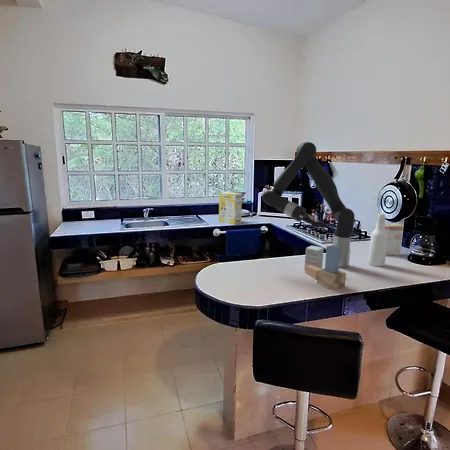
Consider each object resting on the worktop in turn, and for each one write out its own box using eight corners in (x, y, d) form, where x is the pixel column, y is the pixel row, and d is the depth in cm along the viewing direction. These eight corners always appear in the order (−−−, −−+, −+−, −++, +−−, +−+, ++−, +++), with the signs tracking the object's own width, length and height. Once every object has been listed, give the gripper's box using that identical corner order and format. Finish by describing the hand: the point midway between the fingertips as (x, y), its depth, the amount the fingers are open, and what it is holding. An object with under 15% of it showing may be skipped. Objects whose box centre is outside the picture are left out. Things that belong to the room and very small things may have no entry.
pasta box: (241, 223, 312) (242, 193, 306) (234, 224, 303) (235, 194, 298) (225, 220, 322) (226, 191, 317) (218, 222, 314) (219, 192, 309)
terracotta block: (304, 273, 176) (305, 265, 176) (312, 272, 178) (313, 264, 177) (315, 279, 167) (316, 271, 166) (323, 279, 168) (324, 270, 168)
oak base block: (330, 280, 166) (331, 267, 165) (344, 287, 158) (346, 272, 157) (317, 283, 162) (318, 269, 160) (330, 290, 154) (332, 275, 153)
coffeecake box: (395, 252, 222) (399, 224, 218) (400, 255, 215) (404, 226, 211) (372, 251, 223) (375, 223, 219) (376, 254, 216) (379, 225, 212)
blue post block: (330, 269, 162) (331, 245, 160) (338, 271, 158) (340, 246, 156) (324, 271, 159) (326, 246, 157) (333, 273, 155) (334, 248, 153)
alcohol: (375, 261, 200) (381, 212, 194) (387, 266, 192) (394, 214, 186) (364, 263, 197) (370, 212, 191) (376, 267, 189) (382, 215, 183)
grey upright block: (309, 267, 186) (311, 245, 184) (322, 270, 182) (324, 247, 179) (303, 270, 181) (305, 247, 178) (316, 273, 176) (318, 250, 174)
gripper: (293, 203, 168) (321, 218, 159) (303, 206, 179) (329, 220, 171) (286, 216, 169) (313, 232, 161) (296, 218, 181) (322, 233, 173)
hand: (321, 226), depth 166 cm, fingers open, 8 cm apart
